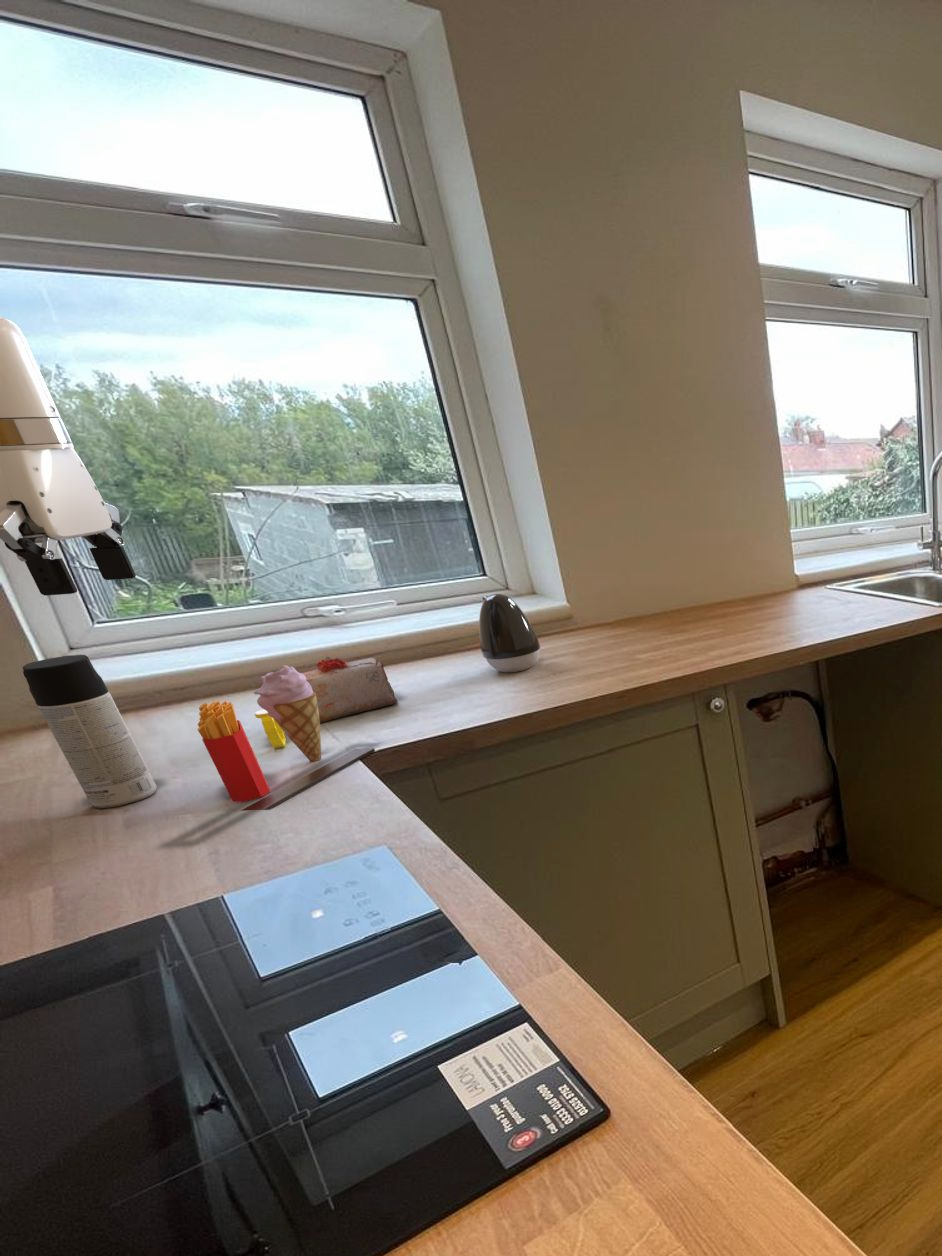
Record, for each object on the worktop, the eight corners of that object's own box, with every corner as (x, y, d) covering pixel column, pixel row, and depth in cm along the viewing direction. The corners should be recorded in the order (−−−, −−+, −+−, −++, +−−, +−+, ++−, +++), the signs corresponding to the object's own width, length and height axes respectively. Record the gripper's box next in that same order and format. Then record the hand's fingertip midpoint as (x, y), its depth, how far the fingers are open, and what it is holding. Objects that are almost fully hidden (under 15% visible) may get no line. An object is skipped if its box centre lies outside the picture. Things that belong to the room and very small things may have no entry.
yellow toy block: (270, 742, 131) (255, 707, 129) (292, 737, 133) (277, 703, 130) (268, 753, 127) (252, 717, 124) (290, 748, 128) (275, 713, 126)
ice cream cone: (315, 769, 120) (274, 672, 114) (274, 770, 120) (231, 674, 114) (349, 751, 126) (312, 658, 120) (310, 752, 126) (271, 660, 120)
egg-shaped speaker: (529, 658, 171) (509, 586, 165) (554, 665, 165) (534, 591, 159) (478, 671, 163) (455, 597, 157) (502, 679, 157) (479, 602, 151)
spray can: (158, 783, 117) (91, 650, 109) (159, 797, 113) (89, 659, 105) (93, 799, 113) (18, 662, 105) (91, 814, 109) (12, 672, 101)
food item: (307, 728, 136) (283, 672, 132) (297, 718, 141) (275, 664, 137) (401, 705, 146) (382, 652, 142) (389, 696, 151) (370, 645, 147)
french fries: (228, 788, 115) (187, 702, 109) (267, 778, 117) (229, 694, 112) (232, 808, 108) (189, 718, 103) (273, 797, 111) (233, 708, 106)
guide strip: (173, 850, 98) (171, 847, 98) (356, 751, 126) (355, 748, 125) (197, 849, 98) (195, 846, 98) (375, 751, 126) (374, 748, 125)
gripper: (42, 436, 99) (106, 575, 106) (-93, 440, 84) (-8, 603, 90) (115, 433, 101) (174, 571, 108) (-4, 437, 85) (74, 598, 92)
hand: (91, 586), depth 99 cm, fingers open, 9 cm apart
